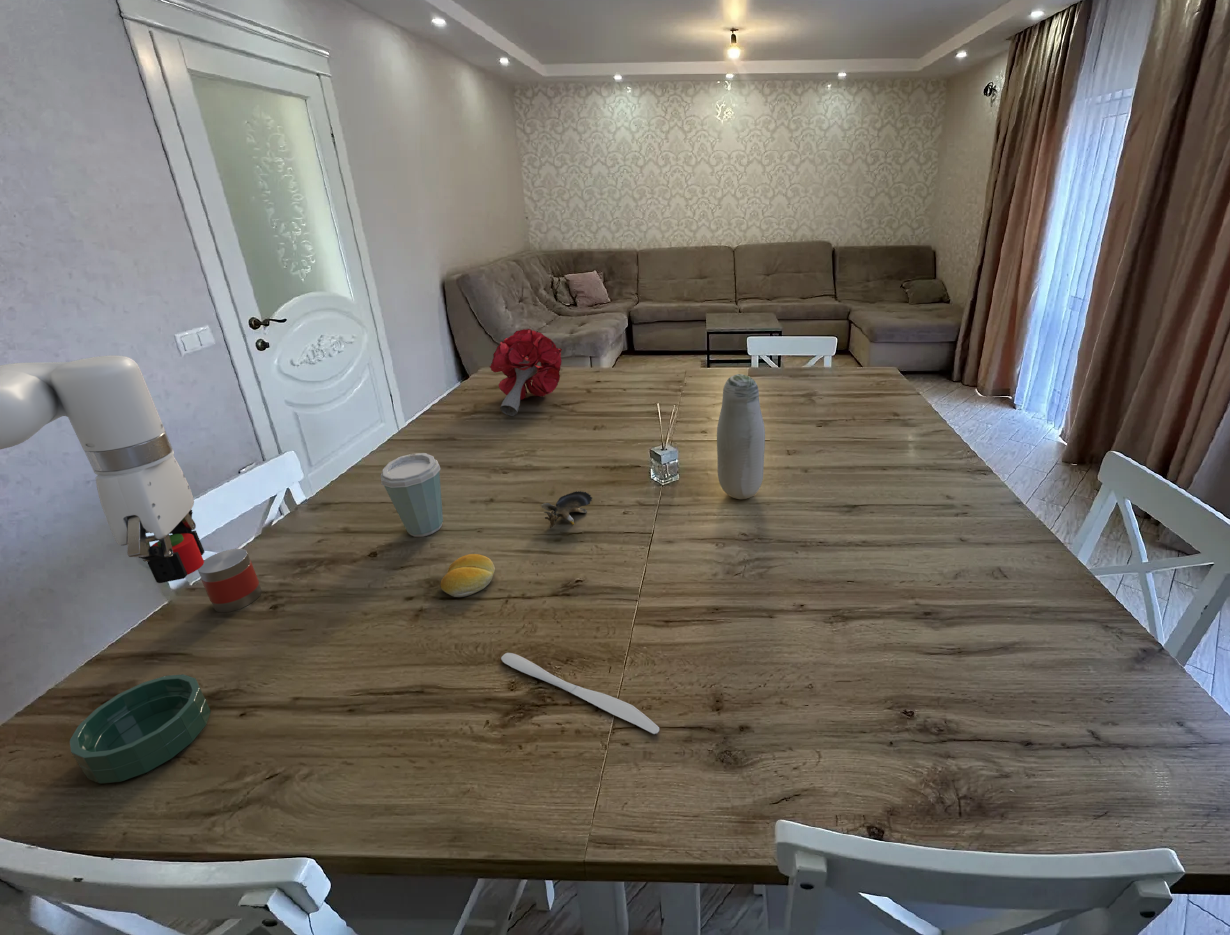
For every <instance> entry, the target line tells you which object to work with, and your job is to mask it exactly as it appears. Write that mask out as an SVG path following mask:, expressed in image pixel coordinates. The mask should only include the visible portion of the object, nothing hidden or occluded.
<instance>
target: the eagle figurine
mask: <svg viewBox="0 0 1230 935" xmlns="http://www.w3.org/2000/svg"><path fill="white" fill-rule="evenodd" d="M592 501H593V497H592V496H591V494H590V493H588V492H586V491H581V490H580V491H579V490H578V491H577V490H576V491H573V492H570V493H567V494H565V495H562V496H560V497H559V498H558V499H557V502H556V503H555V504H551V503H550V502H544V503H542V504H541V505H540V506H541V508H542V509H544V510H545V511H543V513H544V514H547V516H545V517H544V519H545V520H547V521H549V527H550V528H553V527H554V526H555V524H556V522H557V520H558V519H560V518H562V519H564V520H566V521H568V522H569V523H570V524H571V525H572V526H574V525H575V522H574V521H575V520H574V518H573V517H572V516H571V515H570V513H580V514H581V513H582V514H587V513H588V510H587V509H586V508H583V507H585V506H588V505H590V504H591V502H592ZM550 511H551V512H550Z"/></svg>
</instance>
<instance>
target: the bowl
mask: <svg viewBox="0 0 1230 935" xmlns="http://www.w3.org/2000/svg"><path fill="white" fill-rule="evenodd" d="M211 713H212V712H211V708H210V705H209V703H208V701H207V699H206V697H205V695H204V693H203V691H202V688H201V686H200V684H199V682H198V679H197V678H195V677H194V676H190V675H187V674H183V673H182V674H171V675H163V676H161V677H157V678H154V679H150V680H146V681H143V682H141V683H139V684H137V685H134V686H132V687H131V688H128V689H126V690H124V691H121V692H120V693H118V694H116V695H115V696H113V697H112V698H110V699H109V700H107V701H106V702H104V703H102V704H101V705H100V706H98V707H96V709H94V710H93V711H92V712H91V713H90V714H89V715H88V716H87V717H86V718H84V720H82V721H81V722H80V723H79V724H78V725H77V727H76V729H75V731H74V733H73V734H72V736H71V738H70V739H69V747H70V753H71V754H72V757H73V758H74V759H75V761H76V763H77V765H78V766H79V768H80V769H81V770H82V773H83V774H84V776H85V777H86V778H87V779H88V780H91V781H93V782H95V783H97V784H101V785H102V784H111V783H121V782H124V781H126V780H130V779H133V778H135V777H138V776H141V775H144V774H146V773H148V772H150V771H152V770H154V769H156V768H157V767H159V766H161V765H163V764H164V763H166V762H168V761H170V760H171V759H173V758H174V757H176V756H177V755H178V754H179V753H180V752H181V751H183V750H185V748H187V747H188V746H189V745H190V744H193V742H194V741H195V739H196V738H197V737H198V736H199V734H201V732H202V731H203V730H204V728H205V727H206V726H207V724H208V721H209V718H210V715H211Z"/></svg>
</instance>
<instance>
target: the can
mask: <svg viewBox="0 0 1230 935" xmlns="http://www.w3.org/2000/svg"><path fill="white" fill-rule="evenodd" d="M203 560H204V564H203V565H202V566H201V567H200V568H199V569H198V570H197V572H198V574H199V577H200V581H201V582H202V585H203V587H204V590H205V592H206V595H207V596H208V599H209V601H210V603H211V605H212V607H213V609H214V611H215V612H218V613H231V612H235V611H238V610H240V609H241V610H242V609H244V608H245V607H248V606H249V605H251V604H252V603H254V602H255V601H256V600H258V599H259V598H260V596H261V595H262V592H263V590H262V587H261V585H260V581H259V579H258V576H257V573H256V570H255V568H254V565H253V563H252V560H251V558H250V555H249V553H248V551H247V550H246V549H243V548H231V549H226V550H223V551H219V552H217V553H215V554H212V555H211V556H208V557H207V558H205V559H203Z"/></svg>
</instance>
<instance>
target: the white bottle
mask: <svg viewBox="0 0 1230 935" xmlns="http://www.w3.org/2000/svg"><path fill="white" fill-rule="evenodd" d="M718 416H719V417H718V421H717V426H716V456H717V459H716V460H717V461H716V462H717V479H718V483H719V485H720V487H721V489H722V491H723V492H724V493H725V494H726V495H727V496H729V497H731V498H732V499H736V500H746V499H749V498H752V497H754V496H755V495H756V494H758V492H759V490H760V488H761V486H762V484H763V481H764V472H765V471H764V469H765V467H764V466H765V448H766V429H765V422H764V418H763V414H762V410H761V403H760V391H759V386H758V383H757V382H756V380H755V379H753V377H751V376H749V375H746V374H743V373H737V374H734V375H732V376H730V377H728V379H726V380H725V383H724V385H723V389H722V401H721V408H720V412H719V415H718Z"/></svg>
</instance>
